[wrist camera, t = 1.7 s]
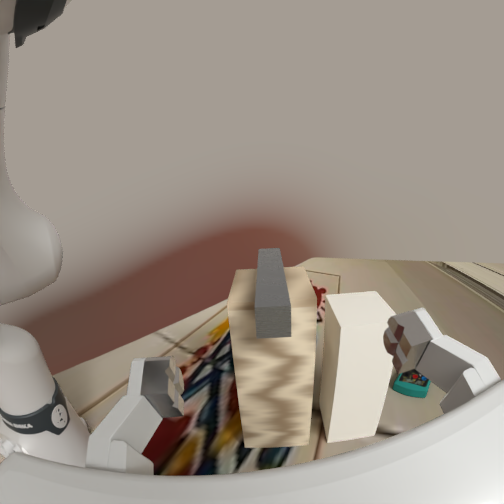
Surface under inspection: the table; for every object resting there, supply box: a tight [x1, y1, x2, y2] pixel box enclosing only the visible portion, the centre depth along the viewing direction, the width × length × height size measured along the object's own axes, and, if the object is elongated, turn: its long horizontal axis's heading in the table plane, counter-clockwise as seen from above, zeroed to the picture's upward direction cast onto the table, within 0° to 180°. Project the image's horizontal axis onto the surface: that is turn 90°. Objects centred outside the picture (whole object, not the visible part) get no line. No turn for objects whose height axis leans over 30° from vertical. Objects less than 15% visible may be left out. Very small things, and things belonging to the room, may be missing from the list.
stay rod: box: [254, 248, 291, 339], centre depth 34 cm, size 3×20×3 cm, turn 178°
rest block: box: [319, 291, 396, 443], centre depth 40 cm, size 8×10×22 cm
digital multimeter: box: [393, 368, 431, 398], centre depth 50 cm, size 7×15×3 cm, turn 138°
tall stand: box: [227, 266, 317, 448], centre depth 42 cm, size 10×12×26 cm
